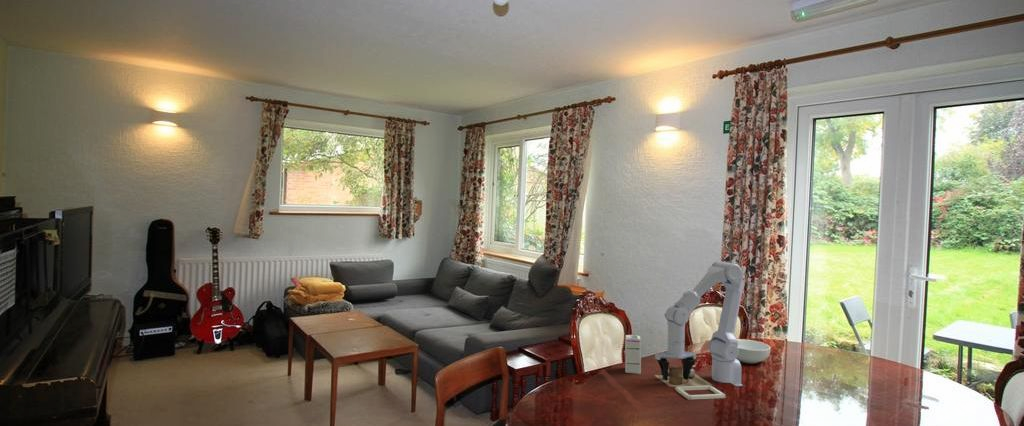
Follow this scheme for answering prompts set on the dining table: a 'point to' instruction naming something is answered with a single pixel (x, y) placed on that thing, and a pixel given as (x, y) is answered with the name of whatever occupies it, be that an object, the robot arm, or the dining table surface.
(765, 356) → the cereal bowl
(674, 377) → the cylinder
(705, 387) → the tray
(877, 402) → the dining table surface
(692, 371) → the crank lever
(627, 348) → the syrup box
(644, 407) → the dining table surface
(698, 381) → the crank board
